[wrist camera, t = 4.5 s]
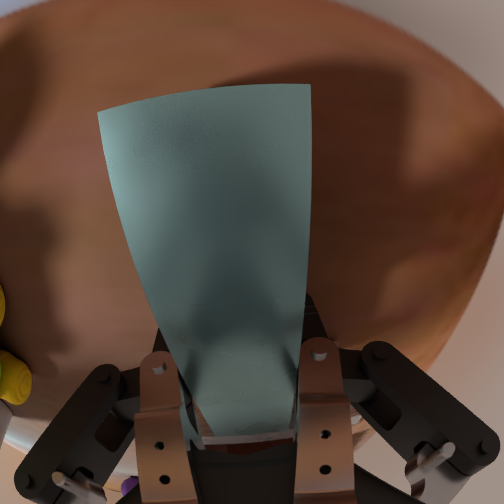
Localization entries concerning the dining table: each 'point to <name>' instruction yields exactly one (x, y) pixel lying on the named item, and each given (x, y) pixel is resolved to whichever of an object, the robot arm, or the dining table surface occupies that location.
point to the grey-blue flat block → (222, 242)
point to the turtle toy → (13, 371)
